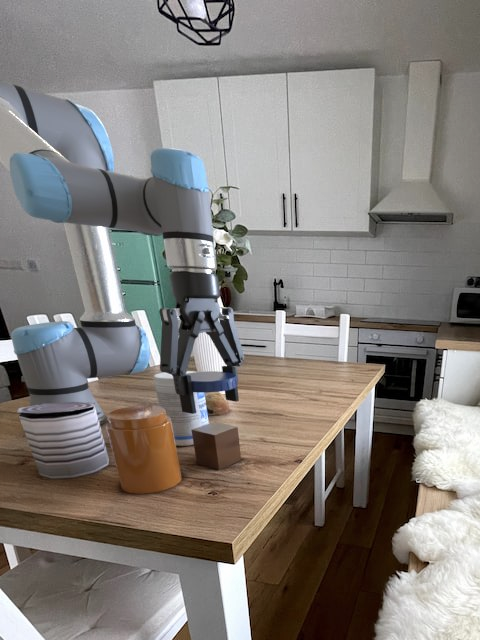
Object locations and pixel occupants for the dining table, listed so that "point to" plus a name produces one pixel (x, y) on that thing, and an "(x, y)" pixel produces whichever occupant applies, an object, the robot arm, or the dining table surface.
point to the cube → (216, 445)
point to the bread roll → (216, 403)
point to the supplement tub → (180, 409)
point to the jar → (144, 449)
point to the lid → (213, 381)
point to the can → (64, 438)
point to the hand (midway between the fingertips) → (212, 406)
